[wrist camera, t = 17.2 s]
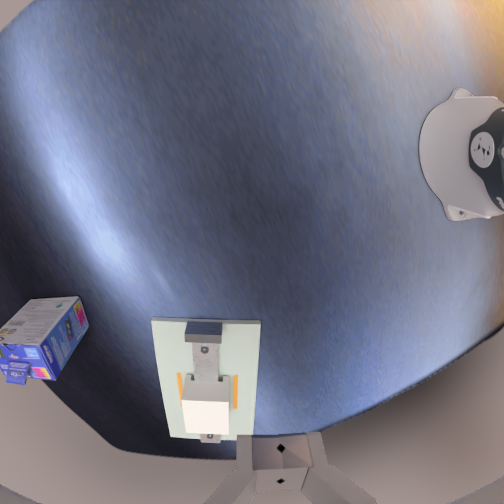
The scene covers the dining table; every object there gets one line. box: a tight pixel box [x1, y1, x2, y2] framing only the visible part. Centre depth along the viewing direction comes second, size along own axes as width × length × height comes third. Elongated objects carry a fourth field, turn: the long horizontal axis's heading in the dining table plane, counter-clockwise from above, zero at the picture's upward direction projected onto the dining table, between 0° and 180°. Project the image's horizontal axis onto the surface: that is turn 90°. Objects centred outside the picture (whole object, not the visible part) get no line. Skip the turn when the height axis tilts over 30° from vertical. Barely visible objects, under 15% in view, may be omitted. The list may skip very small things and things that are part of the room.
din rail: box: [184, 321, 222, 443], centre depth 41 cm, size 4×23×3 cm, turn 178°
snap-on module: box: [181, 375, 229, 435], centre depth 40 cm, size 6×7×5 cm
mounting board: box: [151, 317, 261, 440], centre depth 43 cm, size 14×24×1 cm, turn 178°
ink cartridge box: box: [0, 296, 89, 385], centre depth 32 cm, size 10×6×14 cm, turn 96°
